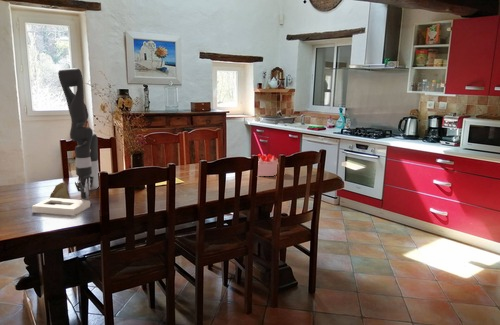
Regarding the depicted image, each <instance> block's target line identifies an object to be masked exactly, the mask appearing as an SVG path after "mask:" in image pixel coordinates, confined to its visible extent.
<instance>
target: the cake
mask: <svg viewBox="0 0 500 325" xmlns="http://www.w3.org/2000/svg"><path fill="white" fill-rule="evenodd" d="M257 156H259V161H258V175H259V176H273V175H276V173H277V164H278V165H279V161H278V159H277V157H276V156H275V155H274V154H273V155H272V153H268V154H267V155H266V154H265V153H264V154H263V155H262V154H261V153H258V154H257ZM259 176H258V177H259Z"/></svg>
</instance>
